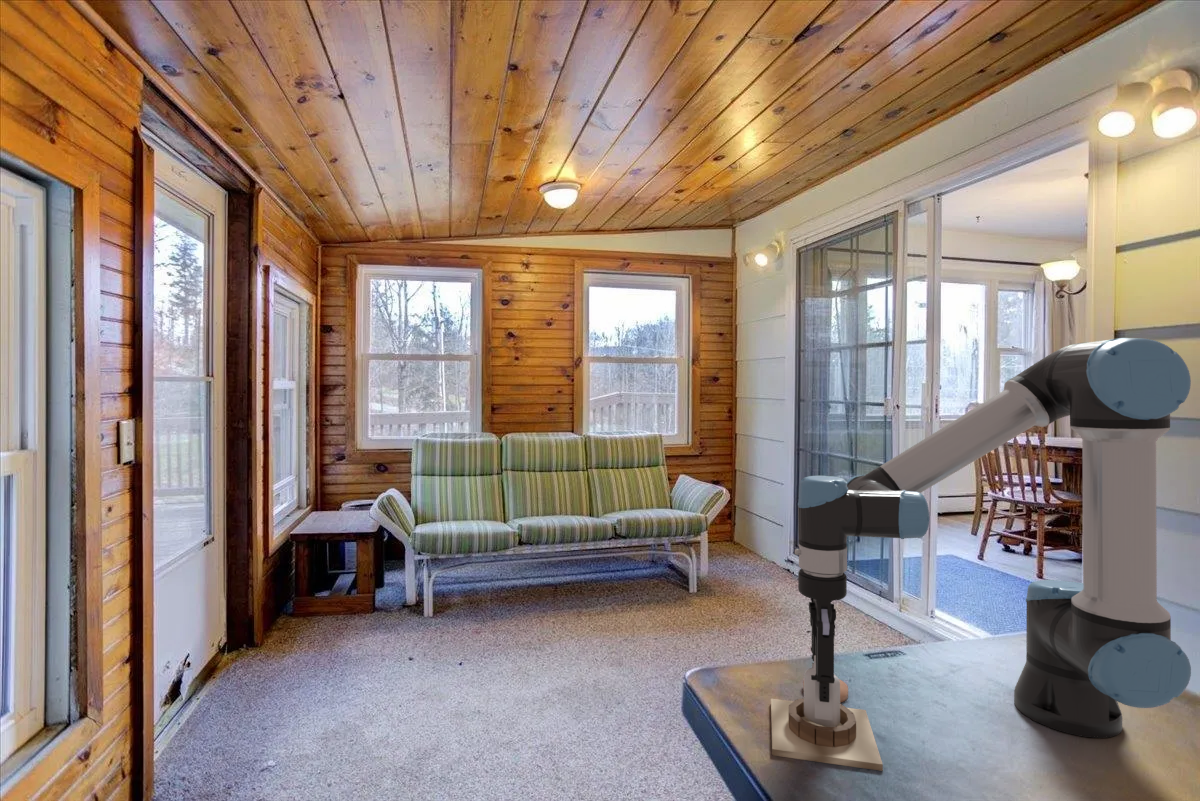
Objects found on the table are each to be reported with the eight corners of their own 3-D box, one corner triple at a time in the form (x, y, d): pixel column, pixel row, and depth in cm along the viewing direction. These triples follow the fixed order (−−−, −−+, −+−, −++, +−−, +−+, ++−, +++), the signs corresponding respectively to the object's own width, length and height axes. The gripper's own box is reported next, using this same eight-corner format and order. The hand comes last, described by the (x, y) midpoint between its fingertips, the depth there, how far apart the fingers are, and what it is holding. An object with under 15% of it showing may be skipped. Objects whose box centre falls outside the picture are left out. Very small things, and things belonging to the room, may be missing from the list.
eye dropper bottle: (822, 709, 106) (822, 640, 105) (844, 727, 100) (844, 654, 100) (800, 713, 105) (800, 643, 104) (820, 731, 99) (820, 658, 99)
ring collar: (865, 715, 108) (865, 695, 108) (882, 770, 93) (882, 748, 93) (770, 704, 112) (771, 685, 112) (772, 755, 97) (772, 733, 97)
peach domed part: (834, 681, 121) (834, 673, 121) (856, 702, 113) (856, 693, 113) (795, 684, 120) (795, 676, 120) (815, 706, 112) (815, 698, 112)
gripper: (795, 554, 111) (795, 682, 112) (801, 585, 94) (801, 736, 95) (839, 557, 109) (839, 687, 110) (854, 589, 92) (853, 743, 93)
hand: (822, 709), depth 102 cm, fingers open, 4 cm apart
